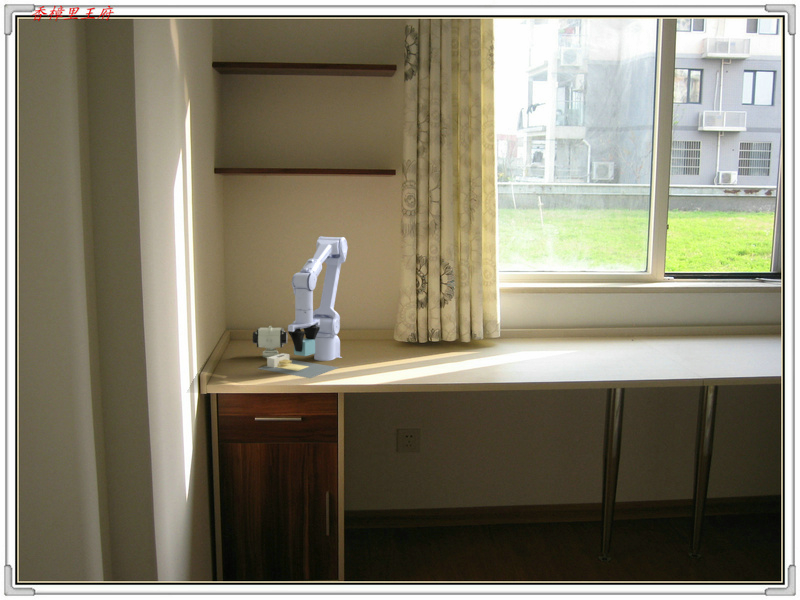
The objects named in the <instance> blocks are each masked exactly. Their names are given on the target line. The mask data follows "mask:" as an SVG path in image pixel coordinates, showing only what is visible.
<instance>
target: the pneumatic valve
mask: <svg viewBox="0 0 800 600" xmlns="http://www.w3.org/2000/svg"><path fill="white" fill-rule="evenodd" d="M288 334H289V333H288V330H287V331H285V329H284V327H272V325H268V327H258V328H257V329H256V331H255V330H254V331H253V333H252V344H255V345H256V348H265V350H263V351H262V358H265V359H267V358H268V357H271V356H275V355H278V354H279V351H278V349H277V348H283V347H284V345H285V344H286V345H287V344H288V337H289V336H288Z"/></svg>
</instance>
